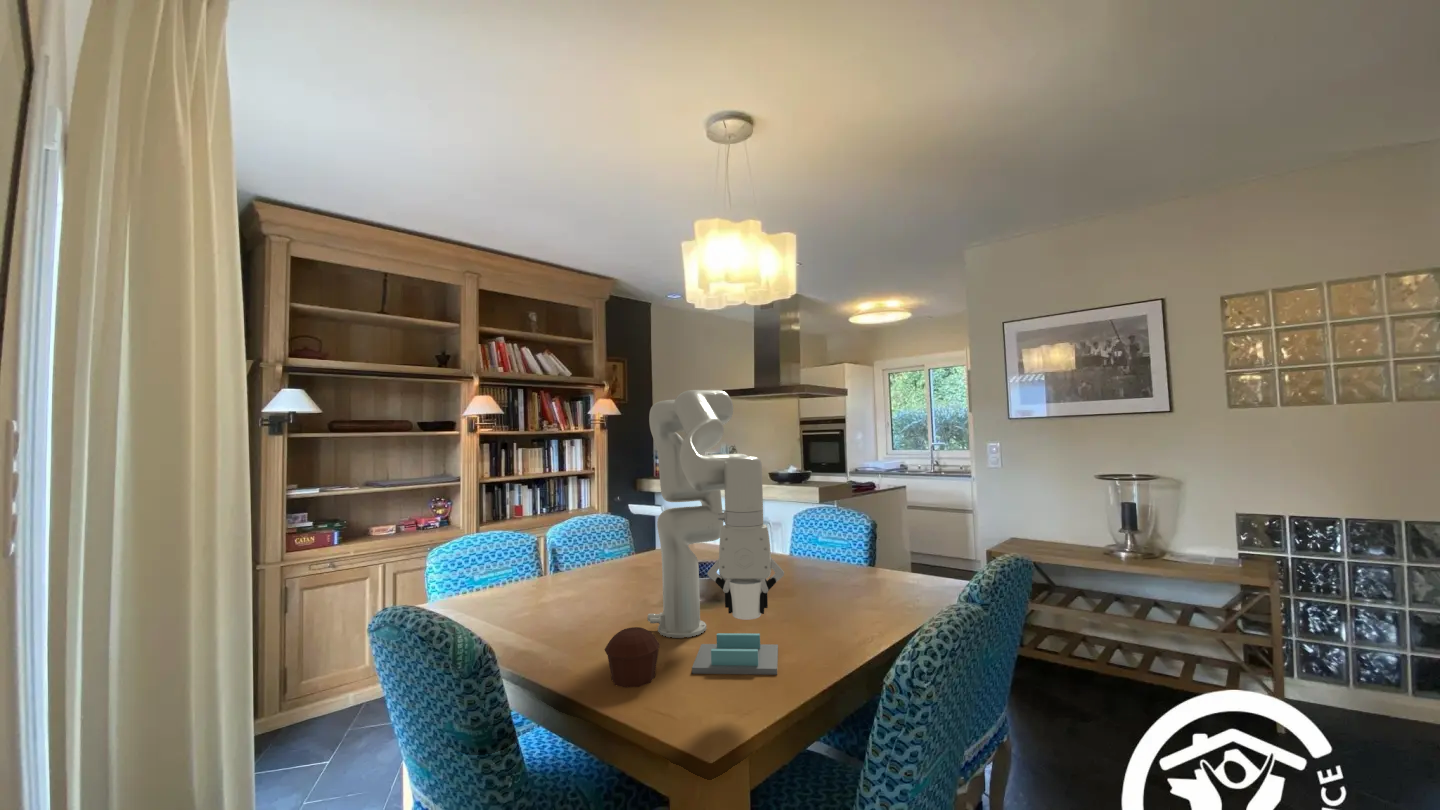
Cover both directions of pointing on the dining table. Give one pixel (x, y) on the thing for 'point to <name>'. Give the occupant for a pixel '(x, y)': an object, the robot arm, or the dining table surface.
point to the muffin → (632, 657)
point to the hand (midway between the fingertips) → (746, 610)
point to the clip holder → (736, 656)
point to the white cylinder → (745, 598)
